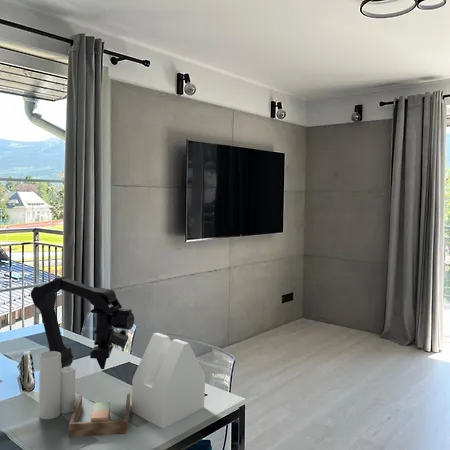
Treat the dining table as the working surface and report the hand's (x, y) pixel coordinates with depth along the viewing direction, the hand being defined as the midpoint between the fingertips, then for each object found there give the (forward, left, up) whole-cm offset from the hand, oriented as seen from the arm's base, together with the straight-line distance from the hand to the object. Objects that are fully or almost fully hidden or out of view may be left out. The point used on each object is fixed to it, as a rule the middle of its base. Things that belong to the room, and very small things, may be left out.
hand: (102, 368), depth 157 cm
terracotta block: (+2, -21, -11) cm, 24 cm away
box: (+2, -15, -11) cm, 19 cm away
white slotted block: (+23, -11, -11) cm, 28 cm away
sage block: (+2, -16, -11) cm, 20 cm away
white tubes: (-14, -9, -11) cm, 20 cm away
